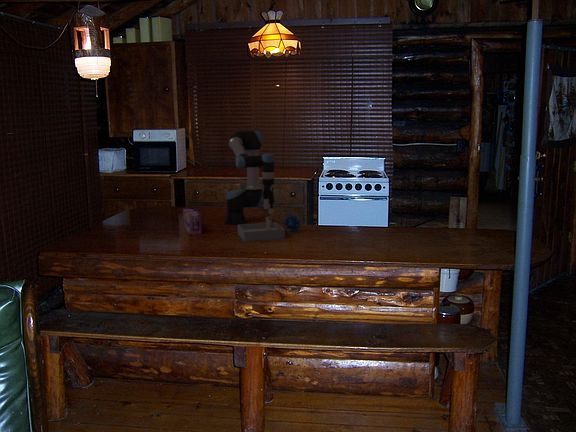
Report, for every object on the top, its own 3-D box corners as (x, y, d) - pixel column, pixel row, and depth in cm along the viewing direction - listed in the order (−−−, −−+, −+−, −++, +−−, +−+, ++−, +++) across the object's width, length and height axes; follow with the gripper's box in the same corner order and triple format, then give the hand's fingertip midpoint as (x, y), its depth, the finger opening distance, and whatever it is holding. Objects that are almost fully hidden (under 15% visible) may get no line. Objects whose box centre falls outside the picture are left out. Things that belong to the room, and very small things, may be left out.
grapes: (282, 233, 378) (282, 215, 375) (283, 230, 384) (283, 213, 382) (299, 233, 376) (299, 215, 373) (301, 231, 382) (301, 213, 380)
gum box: (202, 234, 377) (201, 213, 374) (190, 235, 374) (189, 214, 372) (194, 226, 399) (194, 207, 396) (183, 227, 396) (182, 208, 393)
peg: (265, 235, 373) (265, 216, 371) (271, 234, 374) (271, 216, 372) (266, 236, 369) (266, 218, 367) (272, 236, 370) (272, 217, 368)
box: (237, 233, 377) (237, 224, 376) (276, 230, 384) (275, 222, 383) (244, 241, 356) (244, 232, 355) (284, 238, 363) (284, 229, 362)
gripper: (258, 175, 375) (258, 207, 380) (267, 181, 351) (267, 215, 356) (269, 175, 377) (269, 206, 382) (279, 181, 353) (279, 214, 358)
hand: (268, 211), depth 369 cm, fingers open, 13 cm apart
